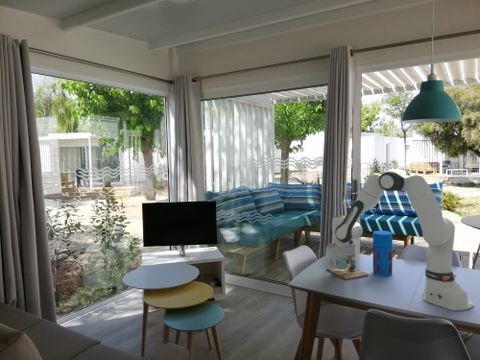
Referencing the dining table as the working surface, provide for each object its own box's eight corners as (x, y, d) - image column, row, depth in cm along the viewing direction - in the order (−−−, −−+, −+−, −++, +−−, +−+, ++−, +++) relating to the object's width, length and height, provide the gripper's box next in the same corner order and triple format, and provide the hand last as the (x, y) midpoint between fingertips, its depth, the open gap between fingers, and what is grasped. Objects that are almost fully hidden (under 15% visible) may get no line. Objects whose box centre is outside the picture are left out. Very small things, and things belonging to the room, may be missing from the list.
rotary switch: (340, 269, 221) (340, 260, 221) (333, 267, 226) (333, 257, 225) (346, 268, 224) (347, 258, 223) (340, 265, 229) (340, 256, 228)
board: (368, 276, 220) (368, 273, 220) (344, 280, 215) (344, 277, 215) (348, 266, 239) (348, 264, 239) (325, 270, 233) (325, 267, 233)
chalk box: (335, 261, 252) (335, 239, 251) (343, 258, 258) (343, 237, 257) (348, 263, 245) (348, 241, 244) (355, 260, 251) (355, 239, 250)
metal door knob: (358, 270, 227) (358, 259, 226) (351, 271, 225) (351, 260, 225) (353, 268, 232) (353, 257, 231) (346, 269, 230) (346, 258, 229)
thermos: (389, 270, 228) (389, 230, 227) (394, 276, 218) (394, 234, 216) (371, 270, 230) (370, 230, 228) (375, 276, 219) (375, 234, 217)
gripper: (330, 245, 216) (330, 268, 217) (355, 240, 226) (355, 262, 227) (322, 243, 221) (323, 266, 223) (347, 238, 232) (348, 260, 233)
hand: (339, 264), depth 225 cm, fingers closed on rotary switch, 6 cm apart
